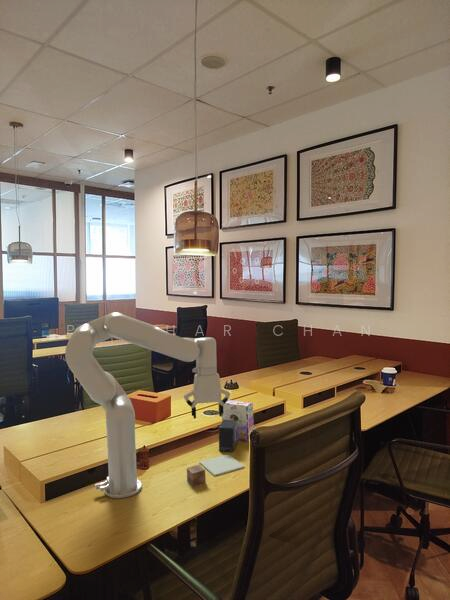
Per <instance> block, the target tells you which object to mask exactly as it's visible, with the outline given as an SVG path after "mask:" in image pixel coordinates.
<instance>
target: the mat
mask: <svg viewBox="0 0 450 600" xmlns="http://www.w3.org/2000/svg"><path fill="white" fill-rule="evenodd" d="M199 465H200V466H201V467H202V468H204V469H205V470H207V471H208V472H209V473H210V475H212V477H213V476H214V477H217V476H220V475H224V474H227V473H231V472H233V471H239V470H242V469H244V468H245V465H243V463H241V462H239V461H238V460H237V459H235V458H234V457H232V455H230V454H228V453H226V454H222V455H219V456H216V457H212V458H208V459H204V460H200V461H199Z"/></svg>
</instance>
